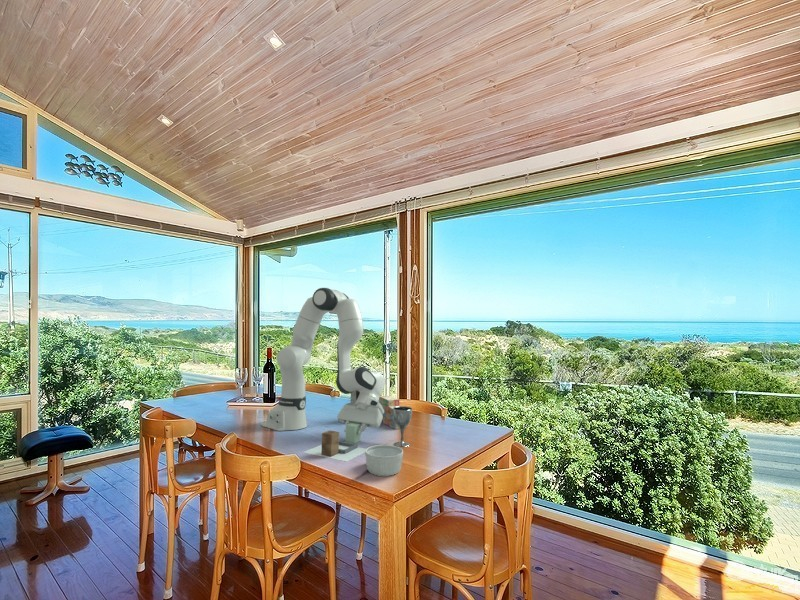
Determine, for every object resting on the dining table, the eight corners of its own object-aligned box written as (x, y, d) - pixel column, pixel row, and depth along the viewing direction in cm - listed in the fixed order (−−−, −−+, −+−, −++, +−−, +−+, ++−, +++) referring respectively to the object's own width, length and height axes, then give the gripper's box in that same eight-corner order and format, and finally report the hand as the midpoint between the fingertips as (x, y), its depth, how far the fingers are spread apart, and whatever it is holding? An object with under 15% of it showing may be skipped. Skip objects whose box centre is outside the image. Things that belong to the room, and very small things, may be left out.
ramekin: (384, 481, 131) (385, 459, 131) (356, 471, 139) (357, 450, 140) (410, 470, 141) (411, 450, 141) (382, 461, 149) (383, 442, 150)
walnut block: (321, 454, 151) (322, 433, 152) (328, 451, 155) (329, 430, 156) (331, 456, 149) (331, 434, 150) (338, 453, 153) (339, 431, 154)
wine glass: (393, 441, 175) (393, 406, 175) (411, 441, 174) (412, 406, 175) (392, 447, 167) (392, 410, 167) (411, 447, 166) (412, 410, 167)
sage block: (345, 444, 169) (345, 424, 169) (351, 441, 173) (351, 422, 173) (354, 446, 167) (354, 426, 167) (360, 443, 171) (360, 424, 171)
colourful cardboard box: (407, 428, 197) (407, 402, 197) (395, 429, 194) (395, 403, 195) (389, 418, 216) (389, 395, 217) (378, 419, 213) (378, 395, 214)
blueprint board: (302, 455, 154) (302, 449, 154) (328, 444, 168) (328, 438, 168) (346, 465, 145) (346, 458, 145) (369, 452, 159) (370, 446, 159)
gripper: (342, 398, 181) (328, 425, 172) (382, 403, 172) (370, 432, 163) (348, 406, 185) (334, 433, 176) (387, 412, 176) (375, 440, 167)
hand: (352, 433), depth 169 cm, fingers closed on sage block, 4 cm apart
